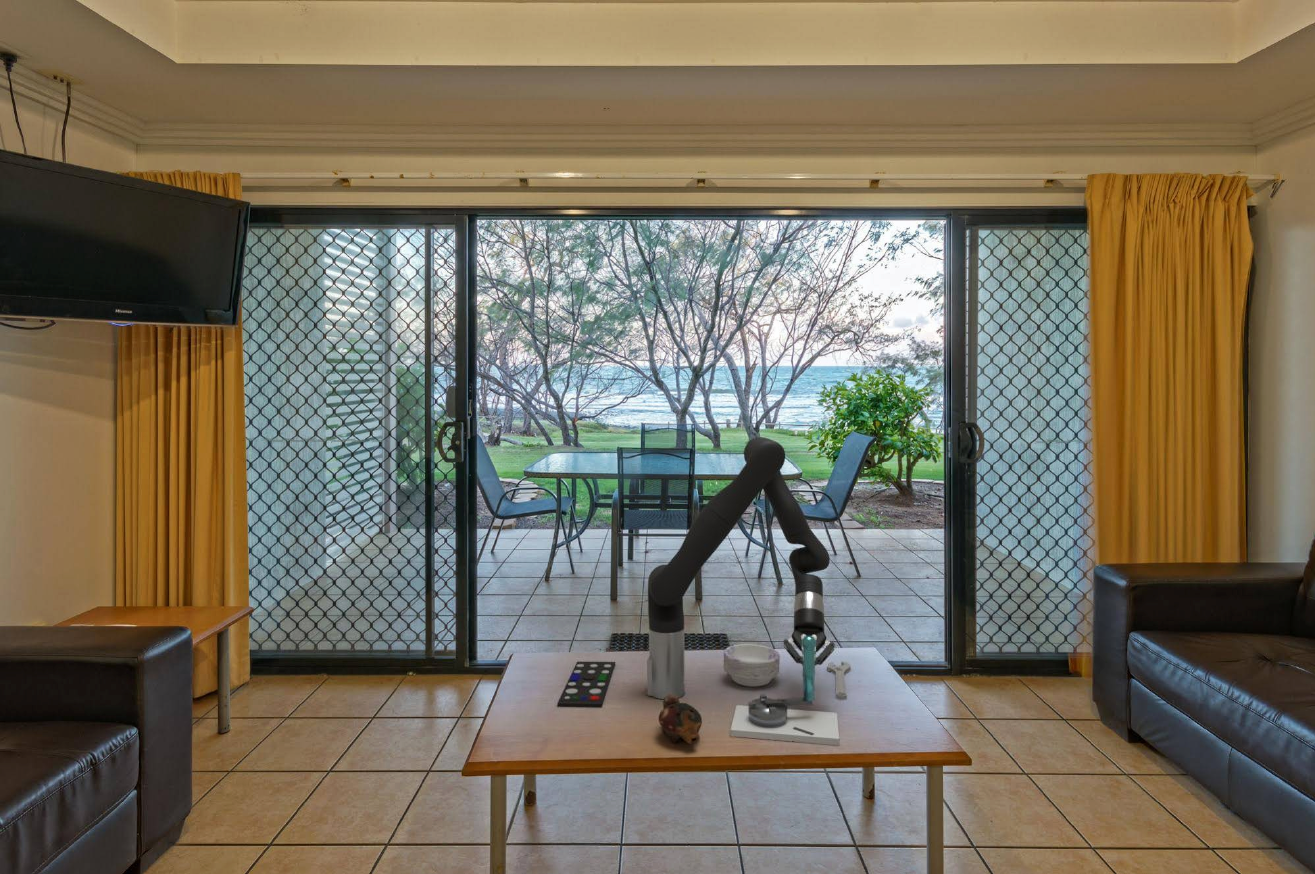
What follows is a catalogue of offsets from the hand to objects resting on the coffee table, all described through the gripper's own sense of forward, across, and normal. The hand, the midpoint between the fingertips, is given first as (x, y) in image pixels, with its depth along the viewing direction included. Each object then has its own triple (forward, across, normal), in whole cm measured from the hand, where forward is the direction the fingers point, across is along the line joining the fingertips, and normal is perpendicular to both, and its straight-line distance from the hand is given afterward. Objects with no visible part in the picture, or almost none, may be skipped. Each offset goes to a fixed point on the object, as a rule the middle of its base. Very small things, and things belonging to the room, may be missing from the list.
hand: (808, 679), depth 176 cm
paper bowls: (-9, -15, +23) cm, 29 cm away
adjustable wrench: (-11, +8, +26) cm, 30 cm away
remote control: (-1, -58, +16) cm, 61 cm away
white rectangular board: (+11, -5, +3) cm, 12 cm away
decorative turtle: (+18, -28, -4) cm, 34 cm away
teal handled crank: (+9, -6, +3) cm, 11 cm away
